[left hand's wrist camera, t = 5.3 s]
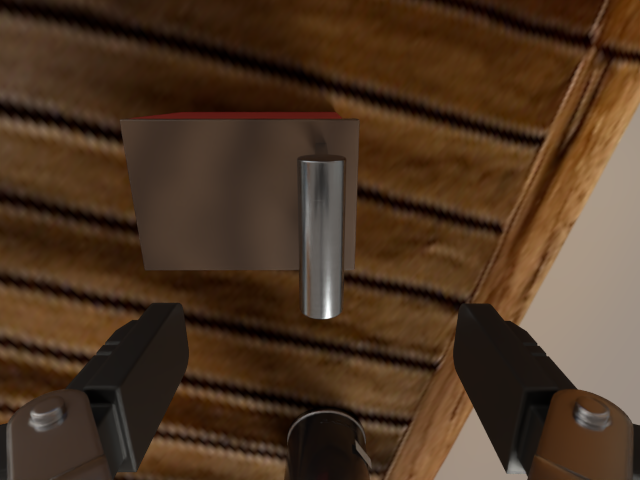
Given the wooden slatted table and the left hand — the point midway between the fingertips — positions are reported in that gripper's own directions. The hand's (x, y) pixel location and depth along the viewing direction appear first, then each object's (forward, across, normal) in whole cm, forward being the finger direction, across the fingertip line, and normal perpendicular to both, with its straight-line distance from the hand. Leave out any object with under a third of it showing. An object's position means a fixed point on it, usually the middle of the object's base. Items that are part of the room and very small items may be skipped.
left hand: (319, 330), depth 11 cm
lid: (+16, +5, 0) cm, 17 cm away
